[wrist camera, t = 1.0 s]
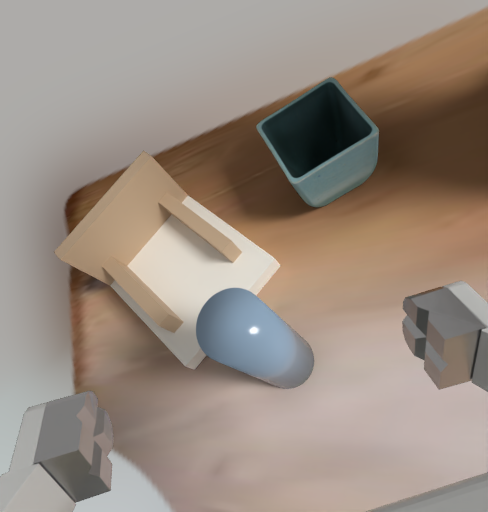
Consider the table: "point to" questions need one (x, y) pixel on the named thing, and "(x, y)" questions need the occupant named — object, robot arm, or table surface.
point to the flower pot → (322, 143)
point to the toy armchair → (164, 254)
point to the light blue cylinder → (253, 339)
